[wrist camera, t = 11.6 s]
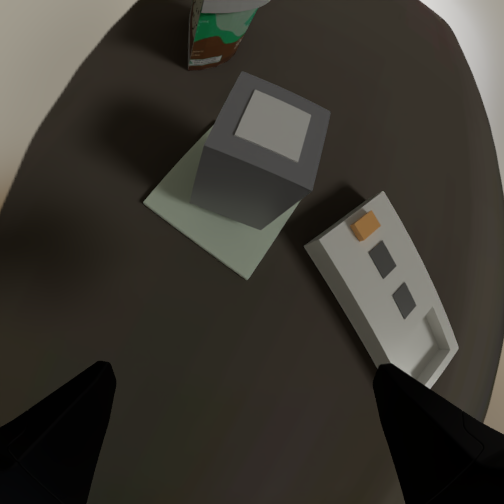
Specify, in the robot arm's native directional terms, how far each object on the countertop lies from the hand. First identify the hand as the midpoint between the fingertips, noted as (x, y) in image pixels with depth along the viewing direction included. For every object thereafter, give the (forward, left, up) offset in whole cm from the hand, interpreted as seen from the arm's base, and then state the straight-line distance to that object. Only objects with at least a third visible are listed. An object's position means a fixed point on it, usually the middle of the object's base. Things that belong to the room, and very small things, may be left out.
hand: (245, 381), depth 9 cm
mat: (+10, +4, -11) cm, 15 cm away
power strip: (+10, -12, -11) cm, 19 cm away
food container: (+23, +15, -11) cm, 30 cm away
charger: (+10, +4, -11) cm, 15 cm away
